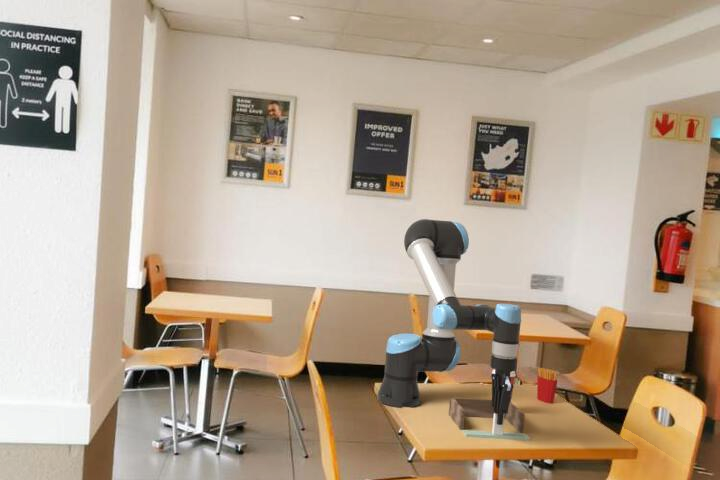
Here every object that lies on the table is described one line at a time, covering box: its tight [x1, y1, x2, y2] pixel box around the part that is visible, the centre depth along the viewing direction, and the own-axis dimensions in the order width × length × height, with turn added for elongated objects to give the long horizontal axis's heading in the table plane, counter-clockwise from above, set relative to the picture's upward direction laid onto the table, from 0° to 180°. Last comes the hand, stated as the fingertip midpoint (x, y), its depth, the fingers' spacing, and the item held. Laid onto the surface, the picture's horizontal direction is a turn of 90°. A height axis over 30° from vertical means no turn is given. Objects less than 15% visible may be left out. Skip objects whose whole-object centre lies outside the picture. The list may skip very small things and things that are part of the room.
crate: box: [448, 396, 525, 434], centre depth 195 cm, size 14×20×7 cm
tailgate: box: [460, 429, 531, 441], centre depth 185 cm, size 1×20×6 cm
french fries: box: [536, 367, 558, 404], centre depth 233 cm, size 8×4×12 cm, turn 32°
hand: (497, 433), depth 184 cm, fingers closed
